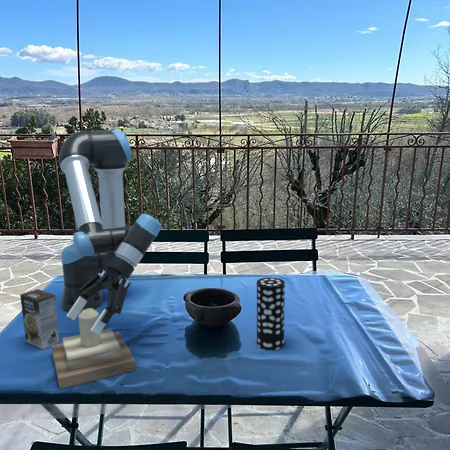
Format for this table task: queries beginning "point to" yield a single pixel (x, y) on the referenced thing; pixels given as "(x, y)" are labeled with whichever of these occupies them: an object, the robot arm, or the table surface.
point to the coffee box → (40, 318)
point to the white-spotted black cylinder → (270, 313)
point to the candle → (88, 328)
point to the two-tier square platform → (91, 359)
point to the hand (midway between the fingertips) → (81, 325)
